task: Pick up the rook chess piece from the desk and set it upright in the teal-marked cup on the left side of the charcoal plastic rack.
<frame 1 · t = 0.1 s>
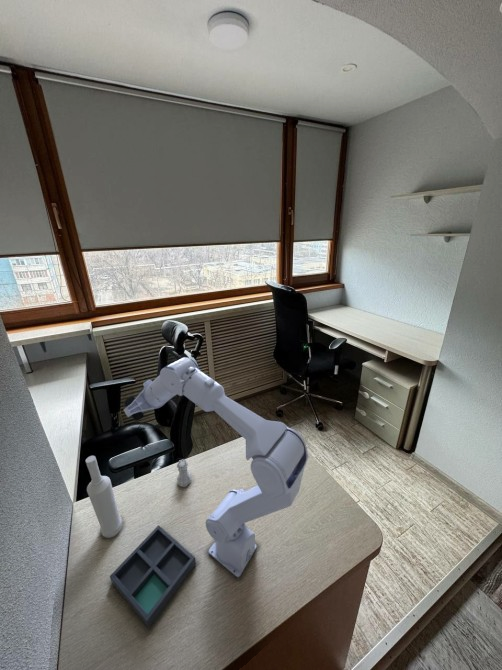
hand: (142, 406, 70), 32 cm above the table, tool tilted 50°, fingers open, 7 cm apart
rack: (155, 573, 63), on the table
bottle: (112, 528, 72), on the table
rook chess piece: (184, 481, 86), on the table
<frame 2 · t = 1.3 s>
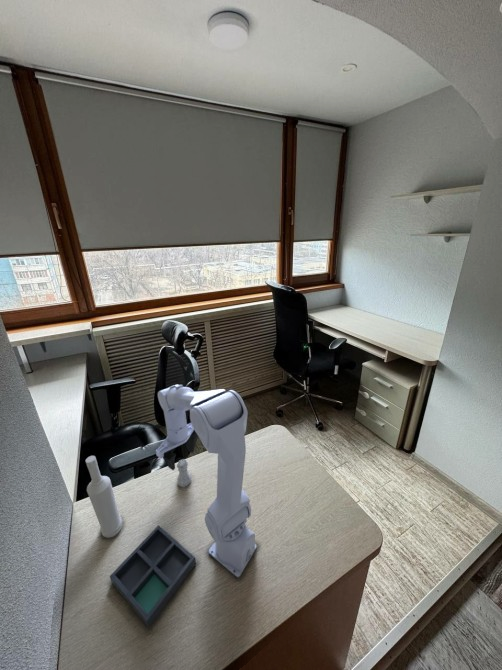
hand: (181, 459, 82), 9 cm above the table, tool pointing down, fingers open, 7 cm apart
nothing on the table moved.
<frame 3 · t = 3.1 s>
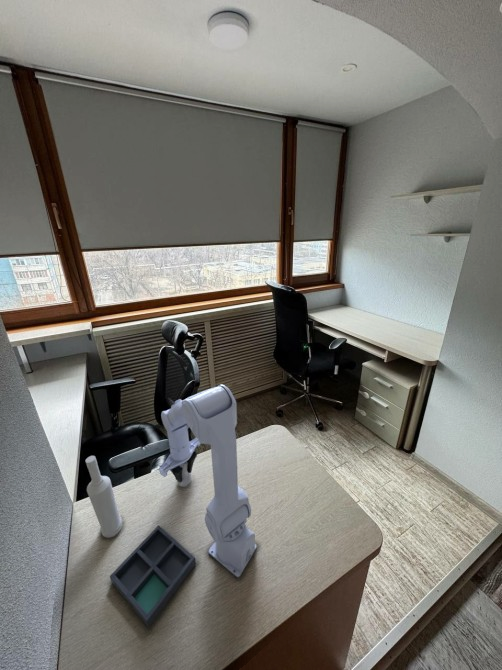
hand: (183, 475, 85), 2 cm above the table, tool pointing down, fingers closed on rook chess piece, 3 cm apart
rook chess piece: (184, 481, 85), on the table, touching gripper
everything else where it was.
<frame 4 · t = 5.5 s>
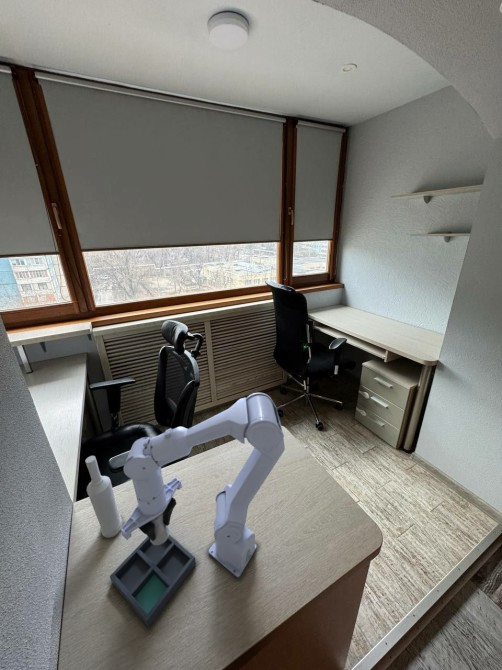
hand: (158, 529, 63), 9 cm above the table, tool pointing down, fingers closed on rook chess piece, 3 cm apart
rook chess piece: (160, 536, 64), point 7 cm above the table, touching gripper
everything else where it was.
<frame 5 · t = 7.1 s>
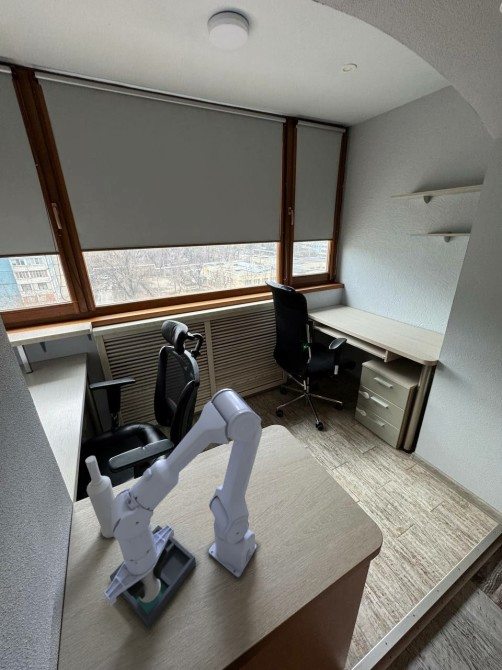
hand: (148, 584, 57), 5 cm above the table, tool pointing down, fingers closed on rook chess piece, 3 cm apart
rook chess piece: (150, 590, 58), point 2 cm above the table, touching gripper
everything else where it was.
when the fingers open (3 cm above the table, at t = 8.1 s): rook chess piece stays where it is, resting on rack.
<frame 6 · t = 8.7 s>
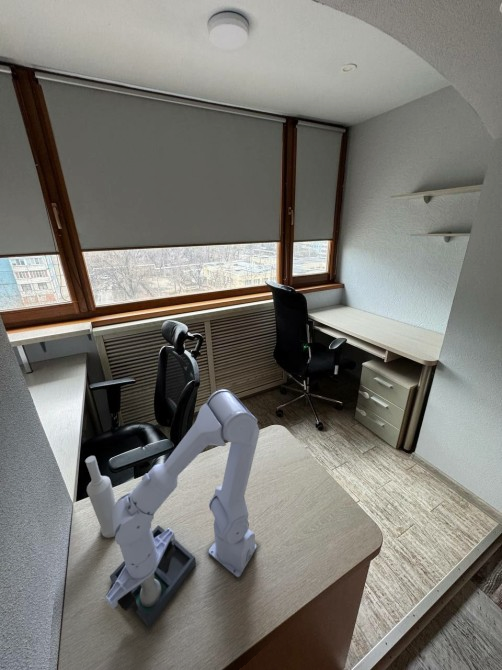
hand: (149, 587, 57), 4 cm above the table, tool pointing down, fingers open, 7 cm apart
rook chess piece: (151, 595, 59), point 1 cm above the table, touching rack
everything else where it was.
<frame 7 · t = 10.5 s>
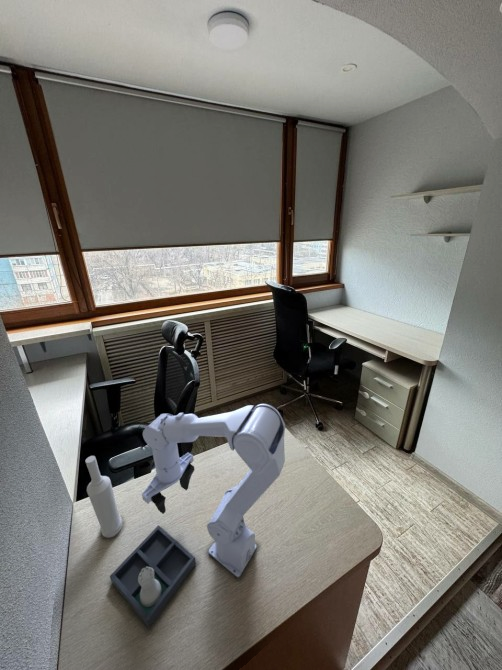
hand: (173, 498, 70), 9 cm above the table, tool pointing down, fingers open, 7 cm apart
nothing on the table moved.
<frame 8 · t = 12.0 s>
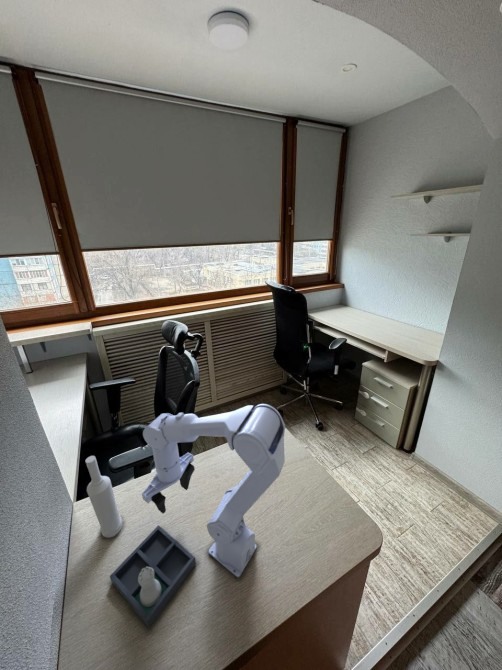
hand: (173, 498, 70), 9 cm above the table, tool pointing down, fingers open, 7 cm apart
nothing on the table moved.
at the end: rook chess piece 0.1 cm from the target spot in the rack, point 0.6 cm above the rack's base; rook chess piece tilted 0°; the gripper is holding nothing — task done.
